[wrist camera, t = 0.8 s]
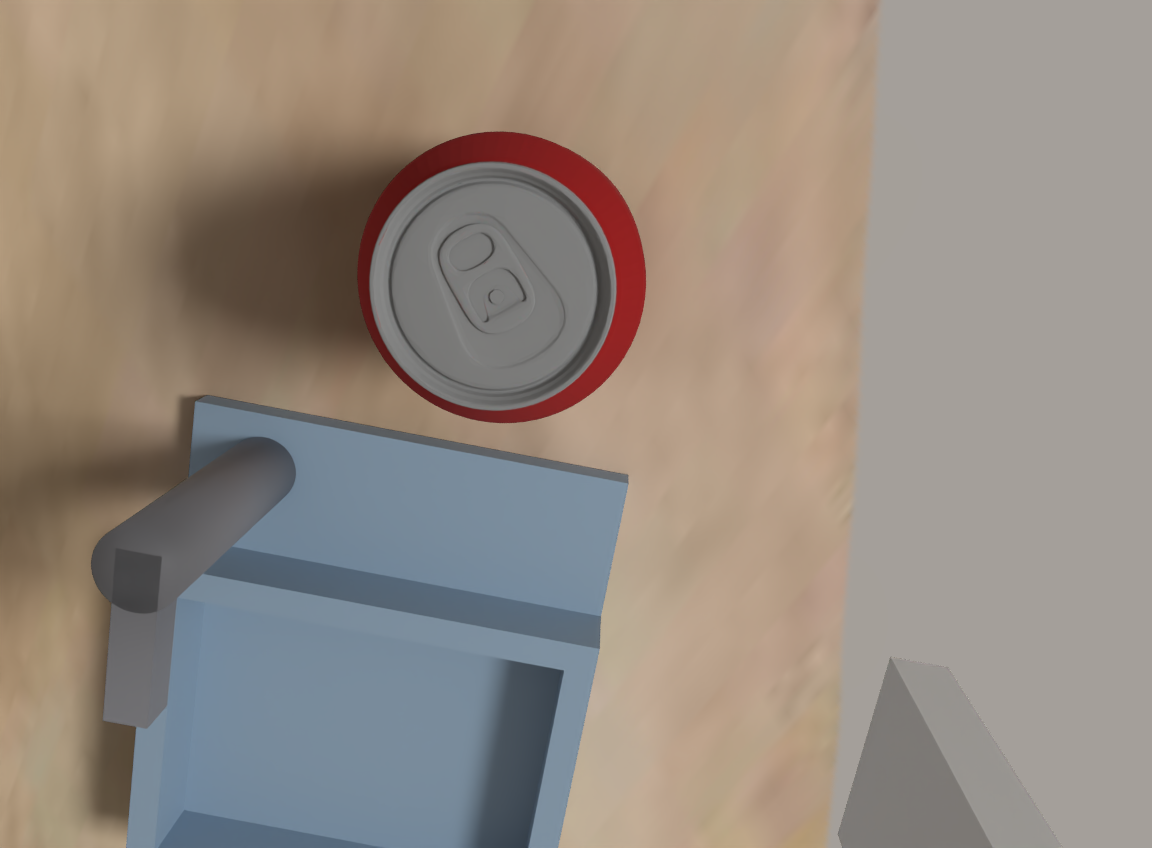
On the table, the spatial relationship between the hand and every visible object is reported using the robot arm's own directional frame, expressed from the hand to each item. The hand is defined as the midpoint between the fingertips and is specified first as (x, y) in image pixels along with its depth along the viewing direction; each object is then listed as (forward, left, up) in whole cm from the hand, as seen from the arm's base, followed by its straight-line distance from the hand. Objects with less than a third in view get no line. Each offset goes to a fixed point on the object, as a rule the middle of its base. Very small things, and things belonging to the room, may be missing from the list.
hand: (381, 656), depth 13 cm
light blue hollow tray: (+12, -3, -21) cm, 25 cm away
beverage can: (-4, 0, -22) cm, 22 cm away
